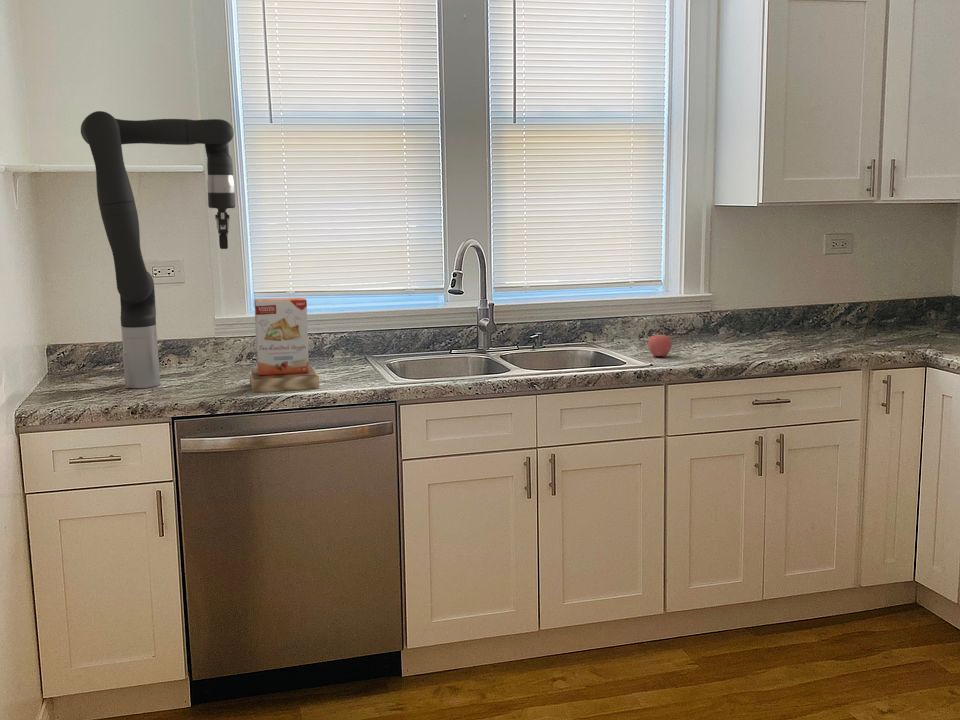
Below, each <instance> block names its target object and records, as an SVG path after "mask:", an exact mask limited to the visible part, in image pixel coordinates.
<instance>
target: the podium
mask: <svg viewBox="0 0 960 720" xmlns="http://www.w3.org/2000/svg"><path fill="white" fill-rule="evenodd" d="M249 385H250V388H251V391H252V393H253V394H254V393H256V394H257V393H267V392H270V393H271V392H282V391H283V392H284V391H295V390H296V391H297V390H298V391H299V390H311V389H313V390H314V389H320V375H319V374H318V372H317V371H316V369H315V368H314V367H313V366H309V373H294V374H275V375H259V374H258V370H251V371H249Z"/></svg>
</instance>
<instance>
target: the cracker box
mask: <svg viewBox="0 0 960 720" xmlns="http://www.w3.org/2000/svg"><path fill="white" fill-rule="evenodd" d="M253 301H254V304H253V305H254V321H255V325H254V326H255V342H256V344H255V345H256V366H257V371H258V374H259V375H275V374H294V373H309V367H310V359H309V357H310V356H309V338H308V337H309V333H308V332H309V331H308V304H307V303H308V302H307V299H306V298H305V297H276V298H255V299H253Z"/></svg>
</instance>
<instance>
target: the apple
mask: <svg viewBox="0 0 960 720" xmlns="http://www.w3.org/2000/svg"><path fill="white" fill-rule="evenodd" d="M672 343H673V342H672V339H671V338H670V336H668V335H666V334H661V333H660V332H658V334H654V335H652V336H650V338H649V340H648V343H647V344H648V345H647V346H648V349H649V352H650V354H652V356H654V355H655V356H654V357H656V356H664V357H666V356H667V355H668V354H669V353H670V352H671V348H672ZM665 355H666V356H665Z"/></svg>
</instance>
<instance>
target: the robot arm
mask: <svg viewBox="0 0 960 720" xmlns="http://www.w3.org/2000/svg"><path fill="white" fill-rule="evenodd" d="M234 131H235V130H234V128H233V126H232V124H230V122H228V121H227V120H224V119H221V118H219V119H218V118H217V119H216V118H215V119H214V118H213V119H212V118H211V119H209V118H207V119H190V118H189V119H187V118H160V119H159V118H157V119H143V120H142V119H141V120H134V119H133V120H130V119H129V120H128V119H120V118H116V117H114V115H112V114H110V113H108V112H107V111H102V110H101V111H100V110H97V111H93V112H91V113H89V114H88V115H87V116H86V117H84V119H83V120H82V123H81V125H80V135H81V137H82V139H83V141H84V142H86V144H88V145H89V148H90V151H91V155H92V158H93V163H94V167H95V174H96V175H95V176H96V177H95V178H96V192H97V193H96V195H97V201H98V202H97V203H98V206H99V211H100V217H101V220H102V223H103V227H104V231H105V233H106V237H107V241H108V243H109V246H110V248H111V249H110V250H111V253H112V258H113V265H114V271H115V282H116V290H117V292H118V294H119V299H120V326H121V327H120V328H121V340H122V343H121V344H122V350H123V351H122V353H123V354H122V365H123V375H124V388H125V389H146V388H154V387H157V386H160V385H161V373H160V361H159V359H160V358H159V346H158V332H157V321H156V318H157V313H156V312H157V309H156V294H155V293H156V292H155V283H154V279H153V276H152V275H151V274H150V272H149V271H148V270H147V269H146V268H147V267H146V264H145V261H144V258H143V254H142V249H141V240H140V239H141V238H140V237H141V236H140V235H141V234H140V233H141V232H140V222H139V214H138V211H137V205H136V199H135V196H134V193H133V189H132V186H131V183H130V182H131V181H130V179H129V175H128V172H127V169H126V165H125V161H124V155H123V146H122V145H131V144H133V145H135V144H145V145H146V144H149V145H172V146H173V145H174V146H175V145H180V146H184V145H185V146H190V145H191V146H192V145H204V148H205V154H206V157H207V159H206V164H207V165H206V166H207V167H206V168H207V183H206V184H207V186H206V187H207V205H208V208H209V209H217V213H216V214H215V215H214V219H215V222H216V229H217V233H218V238H219V239H218V241H219V249H221V250H228V248H229V244H228V235H229V230H230V214H228V212H227V209H235V207H236V191H235V188H236V187H235V181H234V168H233V167H234V165H233V158H232V156H231V155H230V147H229V143H230V142H231V141H232V140H233V138H234V135H235V133H234Z"/></svg>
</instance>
